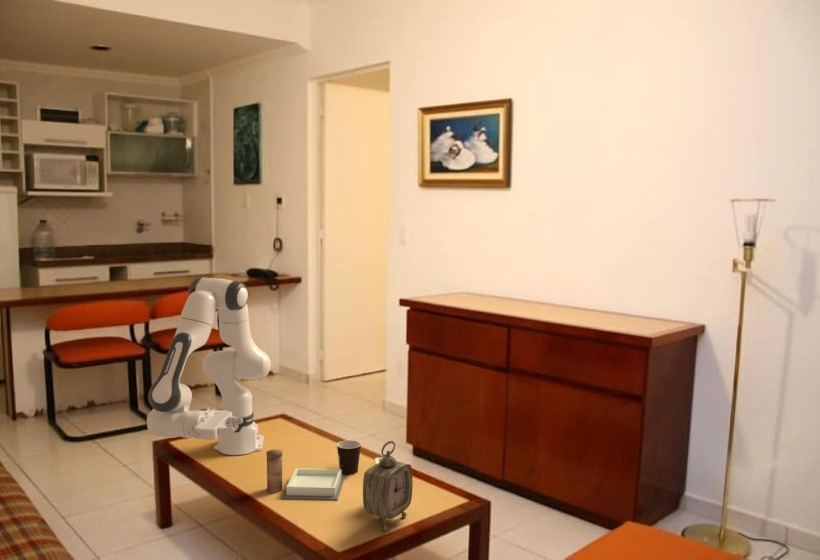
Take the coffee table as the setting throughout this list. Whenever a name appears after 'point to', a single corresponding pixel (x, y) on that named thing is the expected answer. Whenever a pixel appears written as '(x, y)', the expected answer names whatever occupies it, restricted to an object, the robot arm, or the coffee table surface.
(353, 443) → the coffee mug
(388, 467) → the tabletop clock
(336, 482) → the dish
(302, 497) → the mat
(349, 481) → the coffee table surface
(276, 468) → the canister
